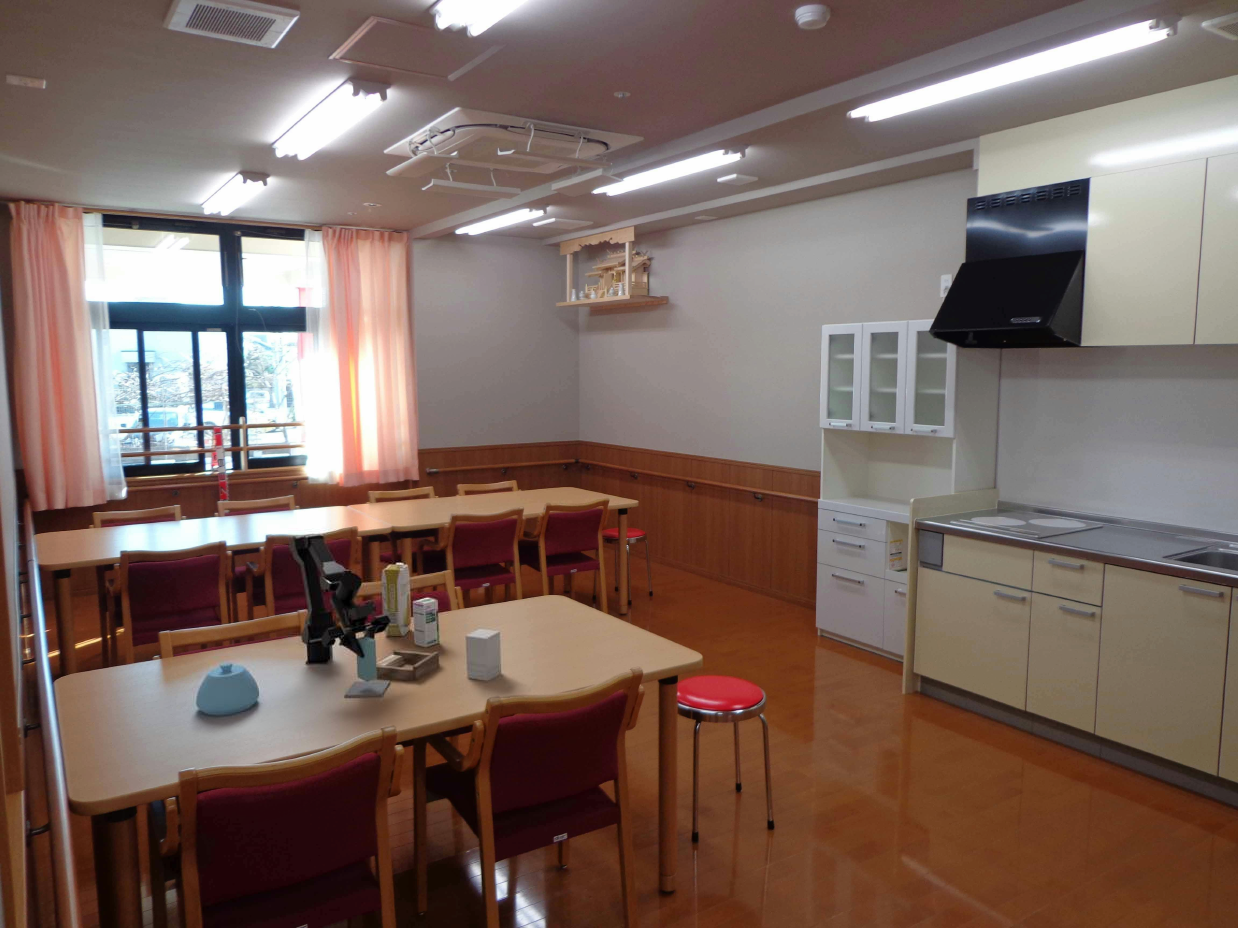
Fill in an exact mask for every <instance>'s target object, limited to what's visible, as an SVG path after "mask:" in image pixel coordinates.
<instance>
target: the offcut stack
mask: <svg viewBox="0 0 1238 928" xmlns="http://www.w3.org/2000/svg"><path fill="white" fill-rule="evenodd" d="M382 659H383V658H382ZM380 660H381V659H380ZM378 661H379V660H378ZM376 662H377V661H376ZM404 664H405V662H404V661H403V658H402V656H398V655H391V656H389V657H387V658H385V659H383V660H381V661H379V662H377V663H376V665H382V666H391V667H401V666H402V665H404ZM400 665H401V666H400Z"/></svg>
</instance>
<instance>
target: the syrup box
mask: <svg viewBox="0 0 1238 928" xmlns="http://www.w3.org/2000/svg"><path fill="white" fill-rule="evenodd" d="M438 604H439V601H438V599H435V598H432V597H425V598H422V599H418V600H413V601H412V611H413V612H412V613H413V634H414V645H417V646H420V647H423V648H428V647H431V646H433V645H436V644H440V624H439V605H438Z"/></svg>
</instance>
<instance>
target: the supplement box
mask: <svg viewBox="0 0 1238 928" xmlns="http://www.w3.org/2000/svg"><path fill="white" fill-rule="evenodd" d="M465 654H466V656H465V657H466V675H467V676H466V677H467V679H471V680H472V679H473V680H479V681H485V682H489V681H491V680H493V679H494V678H496V677H498V676H499V675H501V674H502V657H501V655H502V654H501V632H500V631H498V630H497V631H496V630H490V629H483V628H479V629H476V630H474V631H473V632H471V633H469V634H467V635H465Z"/></svg>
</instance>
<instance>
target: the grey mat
mask: <svg viewBox="0 0 1238 928" xmlns="http://www.w3.org/2000/svg"><path fill="white" fill-rule="evenodd" d="M390 684H391V680H371V681H368V682H367V681H365V680H362V681H359V680H358V681H353V683H352V684H351V685H350V687H349V688H348V689H347V691H346V692H345V693H344V695H343V698H367V697H368V698H369V697H374V698H375V697H378V698H379V697H380V698H381V697H383V695H384V694H385V692H386V691H387V689H388V687H389V686H388V685H390ZM386 688H387V689H386Z"/></svg>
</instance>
